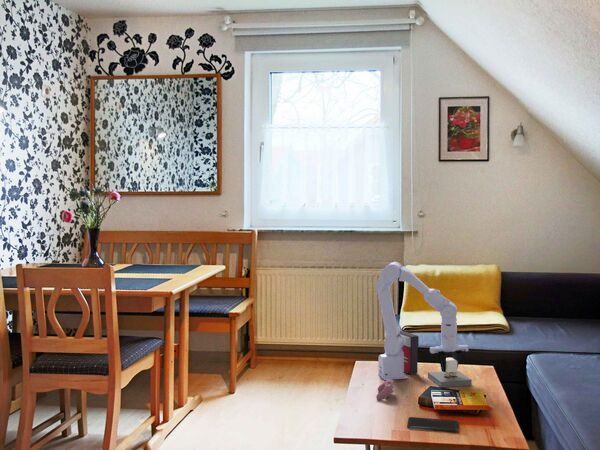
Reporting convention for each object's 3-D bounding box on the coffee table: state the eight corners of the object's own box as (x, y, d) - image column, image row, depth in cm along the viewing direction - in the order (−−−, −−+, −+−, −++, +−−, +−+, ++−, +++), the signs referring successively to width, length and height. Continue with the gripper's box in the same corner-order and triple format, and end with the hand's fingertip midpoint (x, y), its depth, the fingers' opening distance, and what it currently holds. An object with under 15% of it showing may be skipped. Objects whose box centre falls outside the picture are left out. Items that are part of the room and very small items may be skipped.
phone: (458, 430, 169) (406, 426, 173) (458, 434, 169) (406, 430, 173) (458, 420, 177) (408, 416, 181) (458, 424, 177) (408, 420, 181)
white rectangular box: (447, 377, 214) (447, 361, 214) (441, 373, 219) (441, 358, 219) (457, 376, 215) (457, 361, 215) (451, 372, 220) (451, 357, 220)
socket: (440, 387, 210) (440, 379, 210) (427, 377, 222) (427, 369, 222) (471, 384, 212) (471, 376, 212) (457, 375, 224) (457, 367, 224)
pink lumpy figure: (387, 405, 197) (396, 388, 196) (375, 399, 198) (384, 381, 197) (388, 396, 207) (397, 379, 206) (376, 389, 207) (385, 372, 206)
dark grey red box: (393, 368, 235) (393, 331, 235) (402, 366, 237) (402, 330, 236) (409, 375, 225) (409, 337, 225) (418, 373, 227) (418, 335, 226)
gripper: (435, 338, 211) (435, 375, 212) (472, 336, 214) (472, 372, 214) (427, 334, 218) (427, 369, 219) (463, 332, 221) (463, 367, 221)
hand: (449, 370), depth 217 cm, fingers closed on white rectangular box, 4 cm apart
